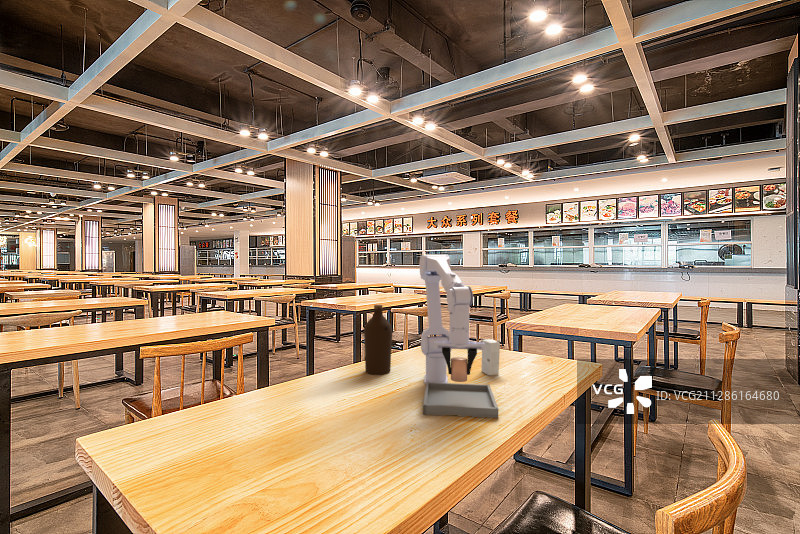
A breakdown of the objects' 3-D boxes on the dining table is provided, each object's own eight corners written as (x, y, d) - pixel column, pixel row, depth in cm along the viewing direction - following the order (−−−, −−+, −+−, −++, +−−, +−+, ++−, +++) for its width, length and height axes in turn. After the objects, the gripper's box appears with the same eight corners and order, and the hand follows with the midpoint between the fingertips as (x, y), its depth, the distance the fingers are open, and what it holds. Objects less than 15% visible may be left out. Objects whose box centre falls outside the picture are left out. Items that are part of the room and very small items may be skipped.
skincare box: (480, 371, 146) (481, 339, 146) (491, 370, 148) (491, 338, 147) (489, 375, 140) (489, 342, 140) (500, 374, 142) (500, 341, 141)
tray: (426, 390, 125) (426, 382, 125) (489, 392, 122) (489, 384, 122) (423, 414, 105) (423, 405, 105) (498, 418, 103) (498, 408, 102)
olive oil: (396, 369, 149) (396, 304, 148) (385, 376, 139) (385, 307, 138) (370, 366, 152) (371, 303, 152) (359, 373, 142) (359, 306, 142)
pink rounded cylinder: (450, 376, 116) (450, 356, 116) (466, 377, 116) (466, 357, 115) (450, 381, 111) (451, 361, 111) (467, 382, 111) (467, 361, 111)
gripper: (434, 329, 110) (433, 376, 110) (486, 330, 108) (485, 378, 109) (434, 325, 117) (434, 369, 117) (483, 326, 115) (483, 371, 116)
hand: (459, 373), depth 113 cm, fingers closed on pink rounded cylinder, 5 cm apart
